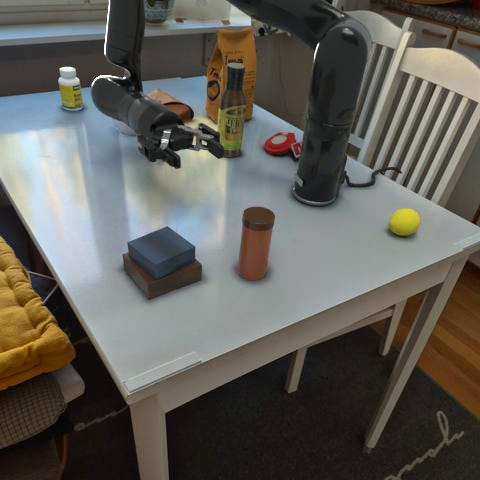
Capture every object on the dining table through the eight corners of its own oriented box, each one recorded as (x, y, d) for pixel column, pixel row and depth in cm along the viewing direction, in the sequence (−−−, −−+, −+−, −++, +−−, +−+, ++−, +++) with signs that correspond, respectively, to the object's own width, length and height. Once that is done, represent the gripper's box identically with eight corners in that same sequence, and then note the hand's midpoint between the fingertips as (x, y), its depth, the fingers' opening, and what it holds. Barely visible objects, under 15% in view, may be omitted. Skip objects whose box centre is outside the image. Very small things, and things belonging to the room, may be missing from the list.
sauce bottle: (223, 160, 113) (229, 70, 99) (211, 150, 116) (214, 61, 102) (246, 156, 115) (254, 68, 101) (233, 146, 119) (239, 59, 105)
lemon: (392, 242, 93) (401, 219, 89) (379, 227, 96) (386, 204, 92) (422, 238, 94) (432, 215, 91) (408, 224, 98) (416, 201, 94)
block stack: (175, 252, 85) (174, 222, 80) (201, 279, 80) (202, 249, 75) (124, 269, 80) (120, 238, 76) (148, 299, 75) (146, 268, 71)
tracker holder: (257, 148, 116) (272, 125, 121) (260, 163, 120) (275, 141, 125) (303, 149, 111) (316, 126, 116) (305, 166, 114) (318, 142, 119)
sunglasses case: (133, 101, 134) (142, 78, 131) (152, 111, 139) (161, 89, 137) (168, 124, 124) (179, 99, 122) (187, 133, 130) (197, 109, 128)
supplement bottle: (78, 112, 126) (72, 73, 119) (59, 109, 127) (52, 70, 120) (86, 106, 130) (81, 67, 123) (68, 103, 131) (62, 64, 124)
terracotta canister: (255, 259, 85) (262, 203, 77) (272, 274, 82) (281, 218, 74) (231, 267, 83) (236, 211, 75) (248, 284, 80) (255, 227, 72)
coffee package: (200, 113, 133) (202, 24, 117) (238, 108, 138) (244, 22, 123) (218, 127, 127) (222, 34, 112) (256, 121, 132) (265, 32, 117)
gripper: (118, 109, 83) (162, 144, 74) (187, 98, 89) (236, 129, 80) (122, 150, 88) (164, 188, 79) (187, 136, 94) (233, 170, 85)
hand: (200, 158), depth 80 cm, fingers open, 8 cm apart
